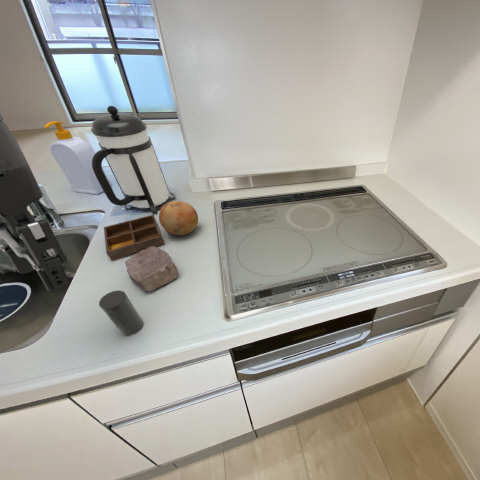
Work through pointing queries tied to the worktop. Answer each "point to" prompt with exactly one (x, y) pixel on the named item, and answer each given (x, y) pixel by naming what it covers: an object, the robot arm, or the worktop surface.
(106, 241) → the brown compartment tray
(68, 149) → the soap bottle
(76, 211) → the worktop surface
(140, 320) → the dark grey cylinder
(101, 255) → the worktop surface
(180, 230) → the onion
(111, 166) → the coffee press
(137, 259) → the stone
